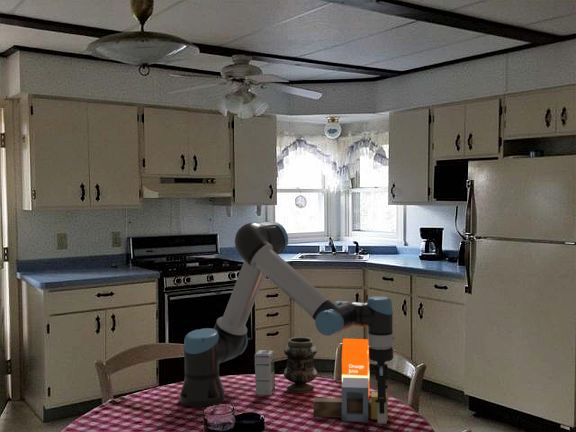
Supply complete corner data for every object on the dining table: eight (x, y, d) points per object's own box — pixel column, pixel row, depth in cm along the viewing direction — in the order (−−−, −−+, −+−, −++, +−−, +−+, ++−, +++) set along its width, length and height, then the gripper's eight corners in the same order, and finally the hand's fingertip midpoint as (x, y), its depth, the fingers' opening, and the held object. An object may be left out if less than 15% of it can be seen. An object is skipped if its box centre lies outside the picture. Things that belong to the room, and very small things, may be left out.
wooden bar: (313, 417, 194) (313, 401, 194) (314, 413, 198) (314, 397, 197) (371, 418, 192) (371, 402, 192) (370, 414, 196) (370, 399, 196)
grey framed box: (341, 420, 190) (341, 387, 190) (343, 409, 200) (343, 377, 199) (368, 421, 189) (367, 387, 188) (368, 410, 199) (368, 378, 198)
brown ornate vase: (318, 394, 215) (317, 343, 215) (283, 394, 216) (282, 343, 215) (316, 383, 227) (316, 335, 227) (284, 384, 228) (283, 335, 227)
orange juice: (344, 392, 217) (343, 335, 217) (369, 393, 216) (369, 336, 215) (341, 399, 210) (341, 341, 209) (368, 401, 208) (367, 342, 207)
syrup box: (271, 395, 215) (270, 354, 214) (255, 394, 216) (254, 353, 216) (275, 390, 220) (274, 350, 220) (259, 389, 222) (258, 349, 221)
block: (371, 419, 191) (371, 396, 191) (371, 413, 196) (371, 391, 196) (387, 419, 191) (387, 397, 190) (387, 413, 196) (387, 392, 195)
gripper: (393, 356, 180) (395, 430, 181) (392, 338, 204) (393, 403, 204) (368, 356, 181) (369, 429, 182) (369, 337, 205) (370, 402, 205)
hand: (381, 415), depth 193 cm, fingers open, 11 cm apart
